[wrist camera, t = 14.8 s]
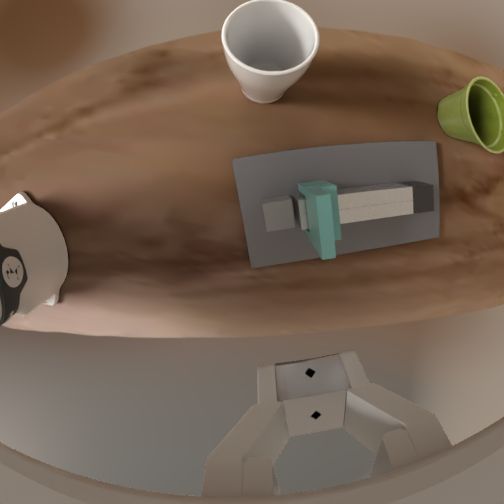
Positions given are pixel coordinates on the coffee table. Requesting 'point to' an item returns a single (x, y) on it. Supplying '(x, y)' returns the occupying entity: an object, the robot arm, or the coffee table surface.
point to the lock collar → (322, 216)
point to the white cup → (269, 47)
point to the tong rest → (343, 176)
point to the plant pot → (475, 114)
